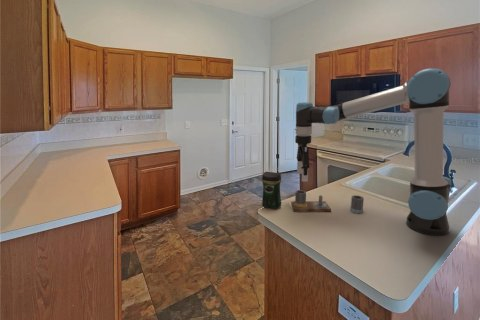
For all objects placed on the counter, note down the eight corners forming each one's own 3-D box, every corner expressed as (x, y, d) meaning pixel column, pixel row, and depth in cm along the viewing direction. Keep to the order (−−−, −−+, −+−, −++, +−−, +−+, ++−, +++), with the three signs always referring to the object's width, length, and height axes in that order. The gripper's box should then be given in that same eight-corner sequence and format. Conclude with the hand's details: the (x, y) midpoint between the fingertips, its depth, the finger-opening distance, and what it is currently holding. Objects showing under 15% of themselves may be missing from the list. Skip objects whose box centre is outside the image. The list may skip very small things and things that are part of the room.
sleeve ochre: (308, 205, 137) (308, 192, 135) (300, 207, 134) (300, 194, 132) (300, 201, 141) (300, 189, 140) (292, 204, 138) (292, 191, 137)
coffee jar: (282, 205, 142) (283, 171, 138) (277, 210, 135) (277, 175, 131) (265, 202, 146) (266, 169, 142) (260, 207, 140) (259, 173, 135)
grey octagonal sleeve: (365, 211, 132) (366, 197, 131) (358, 213, 130) (359, 200, 128) (354, 207, 137) (356, 194, 135) (348, 210, 134) (349, 196, 133)
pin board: (325, 203, 142) (326, 191, 141) (330, 211, 132) (331, 198, 131) (291, 204, 143) (291, 192, 142) (294, 211, 133) (294, 199, 132)
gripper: (291, 131, 142) (291, 170, 146) (300, 139, 117) (298, 185, 122) (306, 131, 141) (304, 170, 146) (317, 138, 117) (315, 185, 122)
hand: (302, 177), depth 134 cm, fingers open, 13 cm apart
